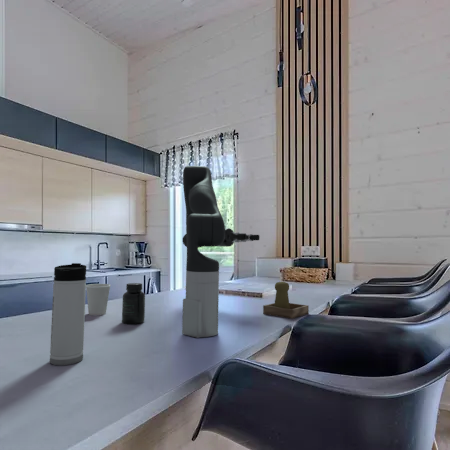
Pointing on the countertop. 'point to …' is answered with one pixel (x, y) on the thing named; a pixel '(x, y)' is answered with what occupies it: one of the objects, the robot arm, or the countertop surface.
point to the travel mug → (68, 314)
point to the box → (286, 310)
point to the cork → (282, 295)
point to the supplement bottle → (133, 304)
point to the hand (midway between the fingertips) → (252, 237)
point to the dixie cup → (97, 298)
